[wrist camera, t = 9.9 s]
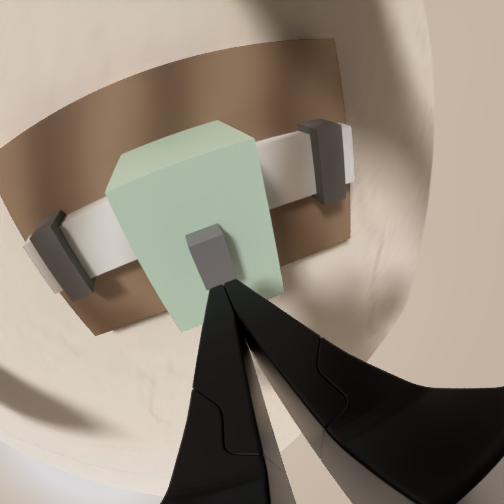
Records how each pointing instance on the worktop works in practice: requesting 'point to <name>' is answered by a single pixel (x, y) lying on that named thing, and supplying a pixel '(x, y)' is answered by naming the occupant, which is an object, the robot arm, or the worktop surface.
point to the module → (197, 217)
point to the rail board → (165, 124)
